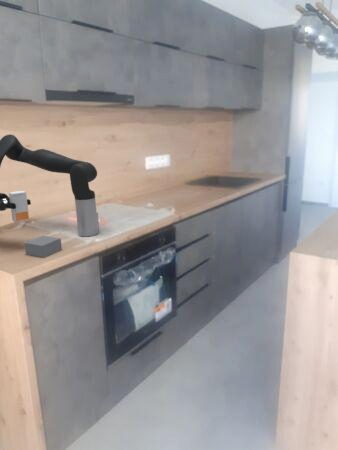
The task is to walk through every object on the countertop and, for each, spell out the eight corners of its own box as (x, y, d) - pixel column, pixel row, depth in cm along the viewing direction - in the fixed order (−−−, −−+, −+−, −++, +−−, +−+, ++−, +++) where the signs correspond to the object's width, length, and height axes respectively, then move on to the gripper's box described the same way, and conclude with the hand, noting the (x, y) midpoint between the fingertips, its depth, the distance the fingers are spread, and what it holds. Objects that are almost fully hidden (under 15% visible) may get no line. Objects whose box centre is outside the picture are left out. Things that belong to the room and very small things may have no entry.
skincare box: (15, 222, 151) (10, 193, 147) (12, 220, 154) (8, 192, 151) (30, 219, 154) (26, 191, 151) (27, 218, 157) (23, 190, 154)
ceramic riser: (44, 246, 158) (42, 235, 156) (61, 249, 153) (60, 238, 152) (25, 254, 149) (24, 242, 148) (43, 257, 145) (42, 245, 143)
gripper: (10, 206, 166) (37, 209, 158) (-18, 213, 153) (9, 217, 146) (8, 189, 163) (34, 192, 156) (-21, 196, 151) (6, 198, 144)
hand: (22, 204), depth 151 cm, fingers closed on skincare box, 7 cm apart
